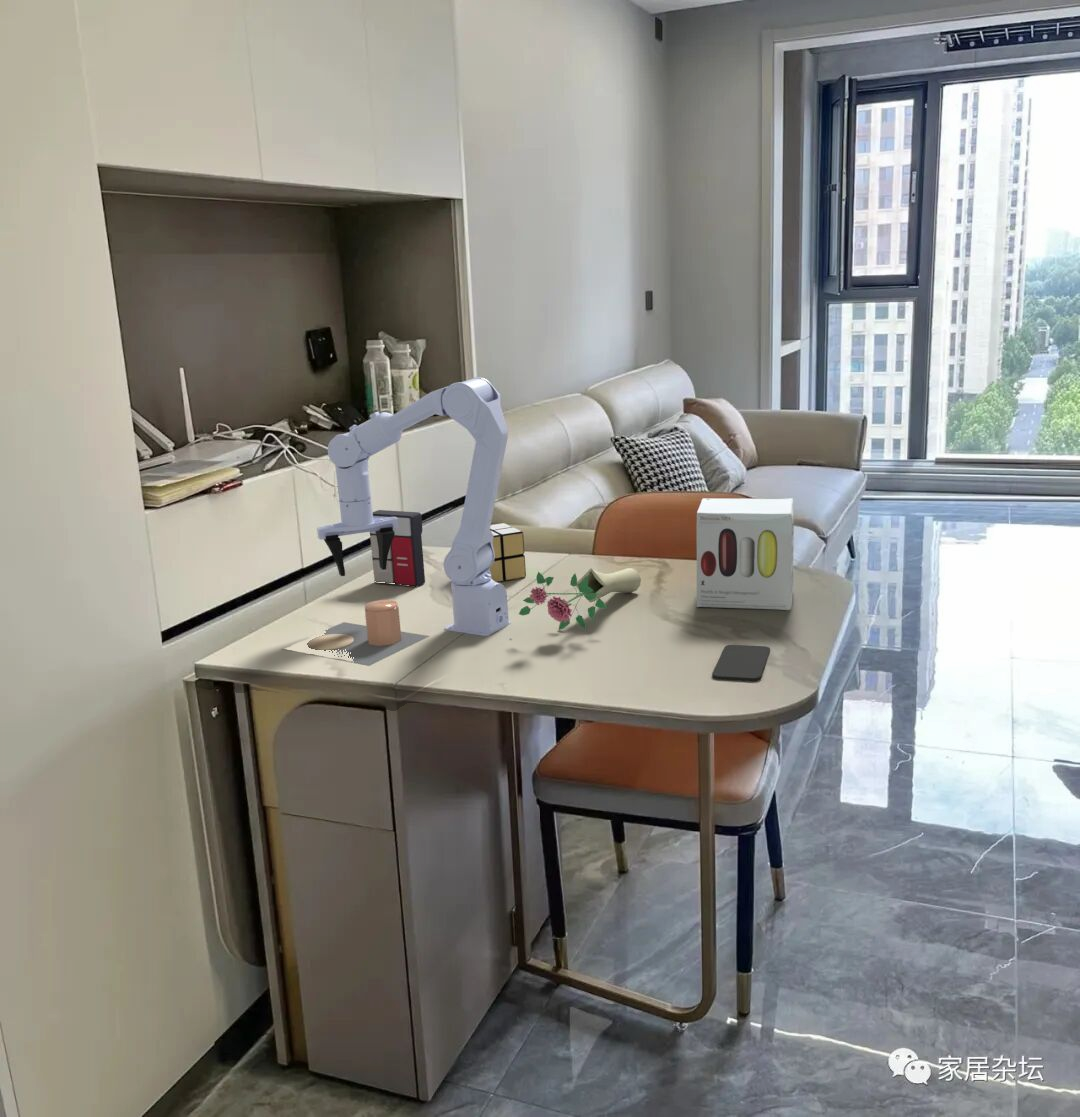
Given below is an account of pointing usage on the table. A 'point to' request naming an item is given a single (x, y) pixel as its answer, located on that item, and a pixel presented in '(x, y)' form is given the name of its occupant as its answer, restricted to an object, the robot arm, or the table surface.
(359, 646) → the placemat
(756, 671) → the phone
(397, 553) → the grey and red box
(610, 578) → the flower vase
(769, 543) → the supplement box
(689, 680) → the table surface
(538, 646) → the table surface
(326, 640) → the coaster
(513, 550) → the puzzle cube
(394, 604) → the cup
